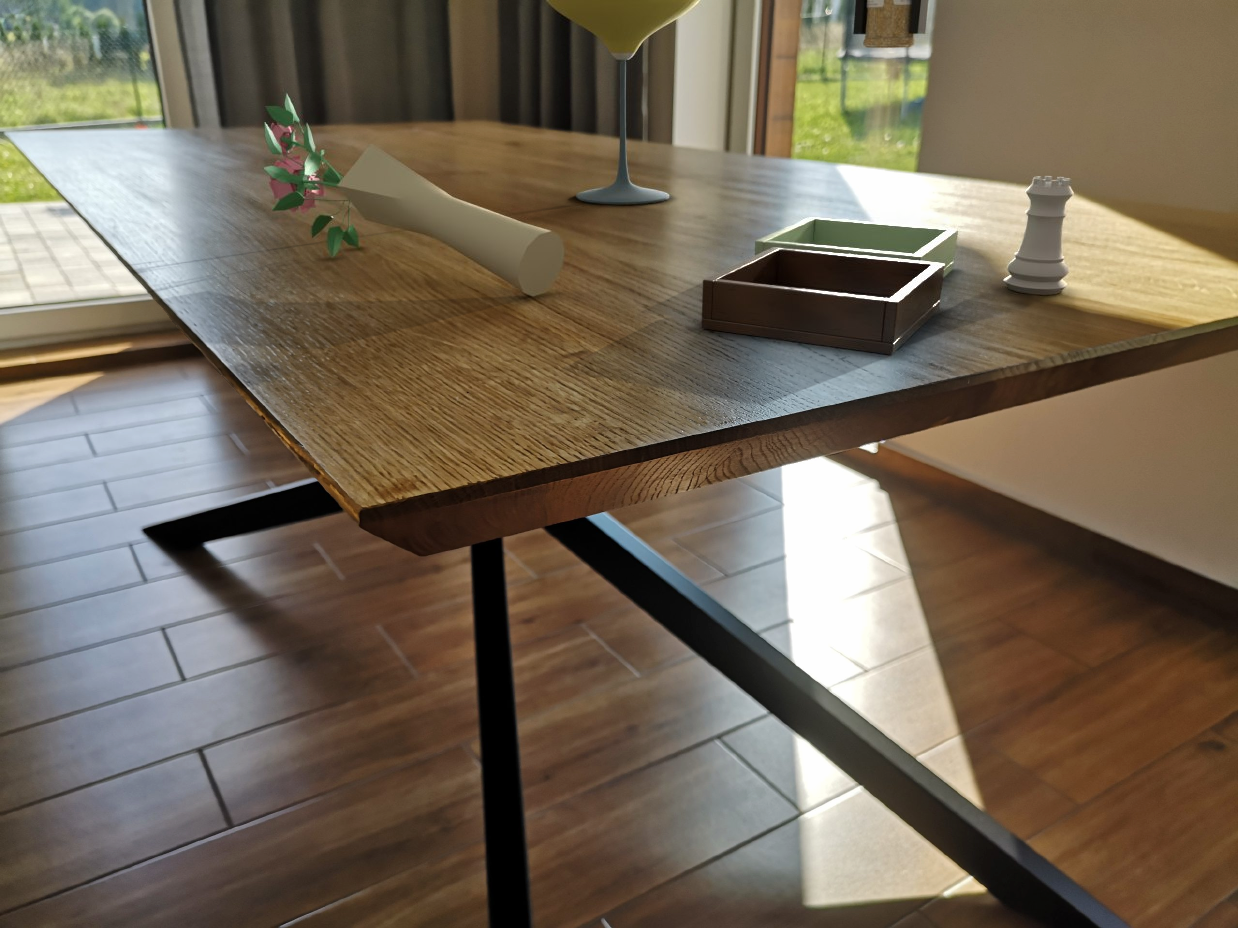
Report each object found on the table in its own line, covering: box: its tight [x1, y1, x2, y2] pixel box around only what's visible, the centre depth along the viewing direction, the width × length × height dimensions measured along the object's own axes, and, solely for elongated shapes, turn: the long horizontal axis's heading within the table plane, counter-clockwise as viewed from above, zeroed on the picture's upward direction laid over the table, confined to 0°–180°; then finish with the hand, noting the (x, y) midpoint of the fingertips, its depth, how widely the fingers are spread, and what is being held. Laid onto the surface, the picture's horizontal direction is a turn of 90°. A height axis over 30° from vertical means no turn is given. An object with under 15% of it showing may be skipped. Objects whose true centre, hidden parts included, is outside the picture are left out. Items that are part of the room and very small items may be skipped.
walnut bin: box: [701, 247, 945, 356], centre depth 68 cm, size 12×12×3 cm
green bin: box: [754, 216, 959, 278], centre depth 80 cm, size 12×12×3 cm
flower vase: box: [262, 93, 566, 297], centre depth 84 cm, size 12×12×35 cm
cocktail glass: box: [545, 0, 701, 206], centre depth 115 cm, size 18×18×25 cm
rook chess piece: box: [1003, 175, 1075, 296], centre depth 75 cm, size 4×4×8 cm
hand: (889, 33), depth 92 cm, fingers closed on sprinkles bottle, 4 cm apart
